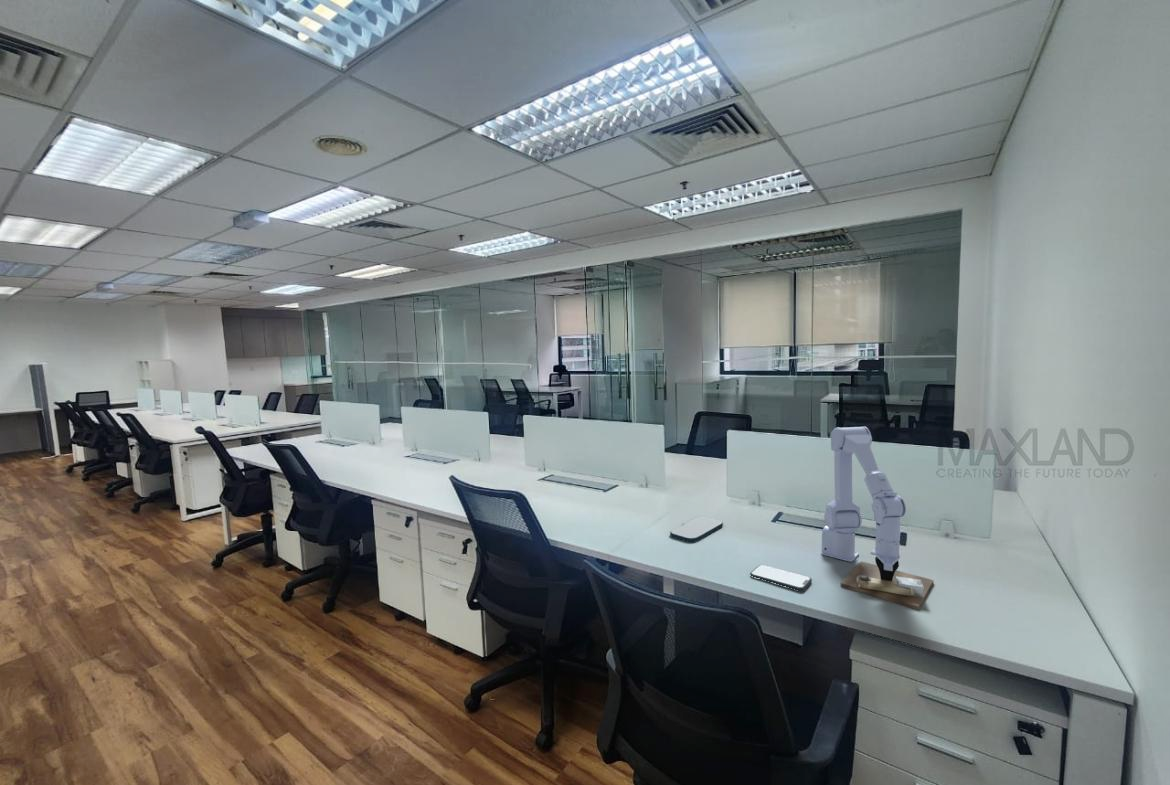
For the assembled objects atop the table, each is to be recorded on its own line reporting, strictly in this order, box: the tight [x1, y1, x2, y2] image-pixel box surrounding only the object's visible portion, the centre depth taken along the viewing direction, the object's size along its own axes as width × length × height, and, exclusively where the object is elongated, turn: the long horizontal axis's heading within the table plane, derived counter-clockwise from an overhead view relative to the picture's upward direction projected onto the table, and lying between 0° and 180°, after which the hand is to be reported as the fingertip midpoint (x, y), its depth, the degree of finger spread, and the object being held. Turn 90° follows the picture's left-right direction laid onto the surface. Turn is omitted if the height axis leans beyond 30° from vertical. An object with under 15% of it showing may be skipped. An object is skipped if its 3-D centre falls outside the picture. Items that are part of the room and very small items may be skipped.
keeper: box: [896, 576, 924, 598], centre depth 134 cm, size 6×4×4 cm
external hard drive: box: [669, 515, 724, 543], centre depth 187 cm, size 24×12×2 cm, turn 135°
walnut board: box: [840, 560, 934, 611], centre depth 141 cm, size 19×19×1 cm
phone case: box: [749, 564, 813, 592], centre depth 147 cm, size 9×2×16 cm
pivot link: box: [857, 575, 911, 596], centre depth 137 cm, size 13×4×3 cm, turn 62°
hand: (886, 584), depth 138 cm, fingers closed
